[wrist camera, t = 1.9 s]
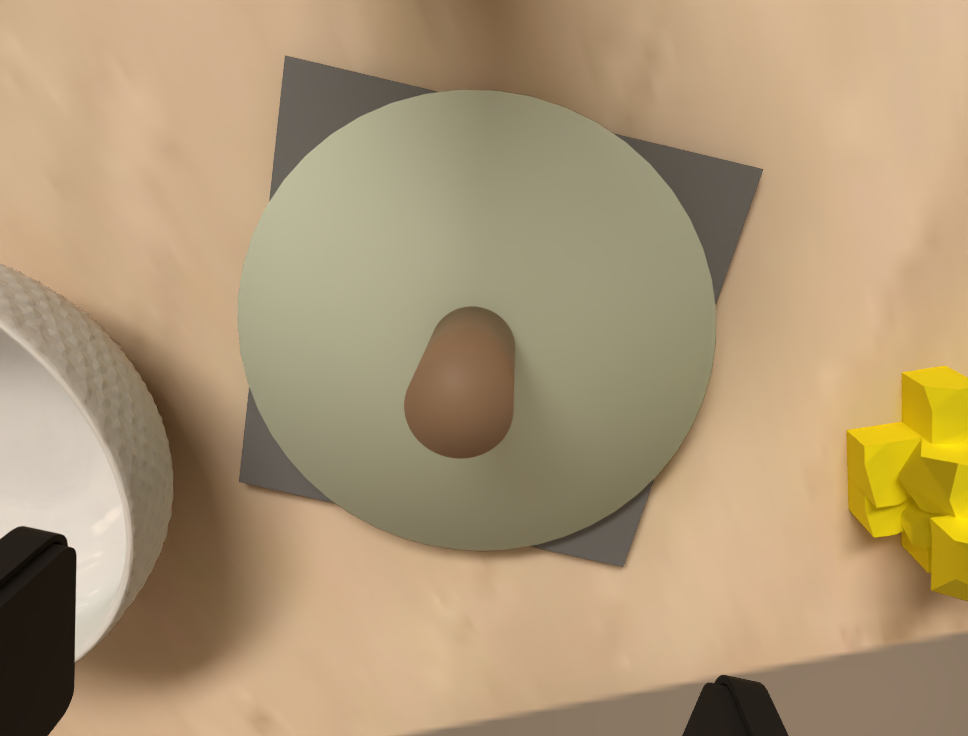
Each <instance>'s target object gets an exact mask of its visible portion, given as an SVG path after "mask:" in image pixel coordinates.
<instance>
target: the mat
mask: <svg viewBox="0 0 968 736" xmlns="http://www.w3.org/2000/svg"><path fill="white" fill-rule="evenodd" d="M428 93H437V92H436V91H432V90H428V89H424V88H420V87H415V86H411V85H407V84H403V83H399V82H394V81H390V80H386V79H382V78H377V77H373V76H369V75H365V74H361V73H356V72H352V71H348V70H344V69H340V68H335V67H331V66H327V65H323V64H319V63H314V62H310V61H306V60H302V59H298V58H293V57H289V56H285V61H284V70H283V79H282V89H281V98H280V107H279V116H278V126H277V135H276V144H275V153H274V163H273V172H272V181H271V190H270V200H271V199H272V197H273V196H274V194H275V193H276V191H277V190H278V188H279V187H280V185H281V184H282V182H283V181H284V179H285V178H286V177H287V176H288V175H289V174H290V173H291V171H292V170H293V169H294V168H295V167H296V166H297V165H298V164H299V163H300V161H301V160H302V159H303V158H304V157H305V156H306V155H307V154H308V153H309V152H311V151H312V150H313V149H314V148H315V147H317V146H318V145H319V144H320V143H321V142H323V141H324V140H325V139H326V138H327V137H329V136H330V135H331V134H333V133H334V132H336V131H337V130H339V129H341V128H342V127H344V126H346V125H347V124H349V123H350V122H352V121H354V120H355V119H357V118H359V117H360V116H363V115H365V114H367V113H369V112H372V111H374V110H376V109H379V108H381V107H383V106H386V105H388V104H390V103H393V102H397V101H401V100H404V99H408V98H412V97H415V96H419V95H423V94H428ZM614 135H616V136H617V137H619V138H620V139H622V140H623V141H625V142H626V143H627V144H628V145H629V146H630V147H632V148H633V149H634V150H635V151H636V152H637V153H638V154H639V155H641V156H642V157H643V158H644V159H645V160H646V161H647V162H648V163H649V164H651V166H652V167H653V168H654V169H655V170H656V172H657V173H658V174H659V175H660V176H661V177H662V179H663V180H664V181H665V182H666V183H667V185H668V186H669V187H670V188H671V189H672V191H673V192H674V194H675V195H676V197H677V199H678V200H679V202H680V203H681V205H682V207H683V208H684V210H685V212H686V213H687V215H688V216H689V218H690V220H691V222H692V224H693V227H694V229H695V231H696V233H697V236H698V238H699V240H700V243H701V245H702V247H703V250H704V253H705V257H706V260H707V264H708V268H709V271H710V275H711V278H712V284H713V292H714V299H715V305H716V302H717V299H718V296H719V294H720V291H721V288H722V285H723V282H724V279H725V277H726V274H727V271H728V268H729V265H730V262H731V260H732V257H733V254H734V251H735V248H736V245H737V242H738V240H739V237H740V234H741V231H742V228H743V225H744V223H745V220H746V217H747V214H748V211H749V208H750V206H751V203H752V200H753V197H754V194H755V191H756V189H757V186H758V183H759V180H760V177H761V174H762V172H763V169H760V168H756V167H752V166H748V165H743V164H739V163H735V162H731V161H727V160H722V159H718V158H714V157H710V156H706V155H701V154H697V153H693V152H689V151H684V150H680V149H676V148H672V147H668V146H663V145H659V144H655V143H651V142H647V141H642V140H638V139H634V138H630V137H626V136H621V135H617V134H614ZM270 200H269V202H270ZM653 481H654V479H653V480H652V481H651V482H650V483H649V484H648V485H647V486H646V487H645V488H644V489H643V490H642V491H641V492H640V493H639V494H638V495H636V496H635V497H634V498H632V499H631V500H630V501H628V502H627V503H626V504H624V505H623V506H622V507H620V508H619V509H618V510H616V511H615V512H613V513H611V514H610V515H608V516H606V517H604V518H603V519H601V520H599V521H598V522H596V523H594V524H592V525H591V526H588V527H586V528H584V529H581V530H579V531H577V532H574V533H572V534H570V535H567V536H565V537H562V538H558V539H555V540H551V541H548V542H545V543H541V544H538V545H532V546H530V547H535V548H539V549H544V550H548V551H553V552H557V553H562V554H566V555H571V556H575V557H580V558H584V559H589V560H593V561H598V562H602V563H607V564H611V565H616V566H620V567H623V566H624V563H625V560H626V557H627V555H628V552H629V549H630V546H631V543H632V540H633V538H634V535H635V532H636V529H637V526H638V523H639V521H640V518H641V515H642V512H643V509H644V506H645V504H646V501H647V498H648V495H649V492H650V489H651V486H652V484H653ZM239 482H241V483H246V484H250V485H255V486H259V487H264V488H268V489H273V490H277V491H282V492H286V493H291V494H295V495H300V496H304V497H309V498H313V499H318V500H322V501H327V502H332V503H335V502H333V501H332V500H330V499H329V498H327V497H326V496H325V495H324V494H323V493H322V492H321V491H320V490H318V489H317V488H316V487H315V486H314V485H313V484H312V483H311V482H309V481H308V480H307V479H306V478H305V477H304V476H303V474H302V473H301V472H300V471H299V470H298V469H297V468H296V467H295V465H294V464H293V463H292V462H291V461H290V460H289V459H288V458H287V456H286V455H285V453H284V452H283V450H282V449H281V448H280V446H279V445H278V443H277V442H276V440H275V439H274V438H273V436H272V435H271V433H270V431H269V429H268V427H267V425H266V423H265V422H264V420H263V418H262V416H261V414H260V412H259V410H258V408H257V405H256V403H255V400H254V397H253V395H252V392H251V390H250V387H249V394H248V403H247V413H246V422H245V431H244V440H243V450H242V459H241V468H240V478H239Z"/></svg>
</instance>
